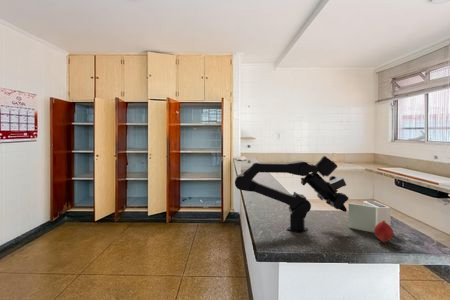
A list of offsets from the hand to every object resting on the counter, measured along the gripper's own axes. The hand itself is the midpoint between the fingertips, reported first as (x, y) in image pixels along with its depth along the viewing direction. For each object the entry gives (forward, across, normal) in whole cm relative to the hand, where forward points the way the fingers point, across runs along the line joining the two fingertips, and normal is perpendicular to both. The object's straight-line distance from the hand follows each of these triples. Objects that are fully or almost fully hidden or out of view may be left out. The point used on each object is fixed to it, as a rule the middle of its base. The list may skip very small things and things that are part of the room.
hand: (346, 210), depth 109 cm
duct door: (+9, -2, +1) cm, 9 cm away
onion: (+10, -14, +1) cm, 18 cm away
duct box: (+14, 0, -4) cm, 15 cm away
